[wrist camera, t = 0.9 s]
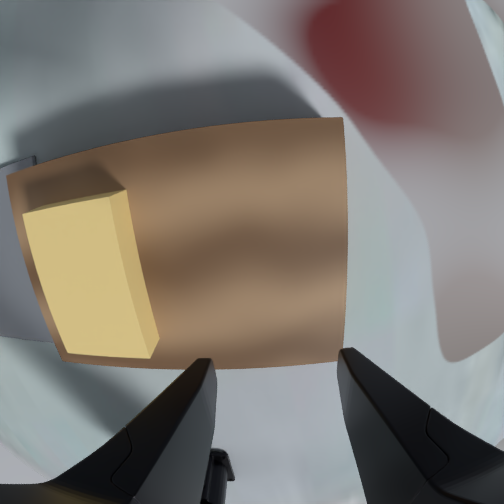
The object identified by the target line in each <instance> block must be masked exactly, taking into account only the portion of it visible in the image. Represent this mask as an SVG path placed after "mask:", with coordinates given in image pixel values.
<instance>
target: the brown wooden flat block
mask: <svg viewBox="0 0 504 504" xmlns="http://www.w3.org/2000/svg"><path fill="white" fill-rule="evenodd" d="M6 179H7V185H8V191H9V197H10V202H11V208H12V213H13V217H14V222H15V226H16V231H17V235H18V239H19V243H20V247H21V250H22V254H23V257H24V261H25V264H26V268H27V271H28V274H29V277H30V281H31V284H32V287H33V290H34V292H35V295H36V298H37V301H38V304H39V306H40V309H41V312H42V314H43V317H44V319H45V322H46V324H47V327H48V329H49V332H50V334H51V336H52V339H53V341H54V343H55V346H56V348H57V350H58V352H59V354H60V357H61V359H62V361H65V362H73V363H82V364H92V365H103V366H115V367H130V368H149V369H187V368H188V367H189V366H190V365H191V364H192V363H193V362H194V361H195V360H196V359H198V358H211V359H212V360H213V364H214V368H215V369H246V368H266V367H281V366H294V365H305V364H316V363H325V362H334V361H338V353H339V350H340V349H343V340H344V326H345V310H346V289H347V255H348V208H347V174H346V153H345V138H344V124H343V117H333V118H297V119H279V120H265V121H253V122H242V123H233V124H224V125H215V126H208V127H200V128H193V129H187V130H180V131H174V132H168V133H163V134H157V135H152V136H147V137H142V138H137V139H132V140H127V141H123V142H118V143H114V144H109V145H105V146H101V147H97V148H93V149H89V150H85V151H82V152H78V153H74V154H71V155H67V156H64V157H60V158H57V159H54V160H50V161H47V162H44V163H41V164H38V165H35V166H32V167H29V168H26V169H23V170H20V171H17V172H14V173H11V174H9V175H6ZM121 190H127V196H128V202H129V208H130V214H131V219H132V225H133V230H134V235H135V240H136V245H137V250H138V255H139V259H140V264H141V268H142V273H143V277H144V281H145V285H146V289H147V293H148V297H149V301H150V305H151V309H152V313H153V317H154V320H155V324H156V327H157V331H158V334H159V338H160V339H159V341H158V343H157V345H156V347H155V349H154V352H153V354H152V356H151V358H150V359H148V358H125V357H108V356H94V355H83V354H72V353H68V352H67V350H66V348H65V346H64V343H63V341H62V339H61V336H60V334H59V332H58V329H57V327H56V324H55V322H54V319H53V316H52V314H51V311H50V309H49V306H48V303H47V300H46V297H45V294H44V292H43V289H42V286H41V283H40V279H39V276H38V273H37V270H36V266H35V263H34V259H33V256H32V252H31V249H30V245H29V241H28V237H27V233H26V229H25V224H24V220H23V215H22V214H24V213H26V212H28V211H31V210H33V209H36V208H38V207H41V206H44V205H48V204H53V203H57V202H62V201H67V200H72V199H77V198H82V197H87V196H92V195H98V194H103V193H109V192H115V191H121Z"/></svg>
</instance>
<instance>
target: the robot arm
mask: <svg viewBox="0 0 504 504" xmlns="http://www.w3.org/2000/svg"><path fill="white" fill-rule="evenodd" d="M337 378H338V384H339V391H340V397H341V403H342V410H343V416H344V421H345V425H346V429H347V432H348V435H349V439H350V442H351V446H352V449H353V453H354V457H355V460H356V464H357V467H358V471H359V475H360V478H361V482H362V486H363V490H364V493H365V497H366V501H367V504H504V451H502V450H500V449H498V448H496V447H494V446H493V445H491V444H489V443H487V442H485V441H484V440H482V439H480V438H478V437H476V436H475V435H473V434H471V433H469V432H468V431H466V430H464V429H463V428H461V427H459V426H458V425H456V424H455V423H453V422H452V421H450V420H449V419H447V418H446V417H445V416H443V415H442V414H440V413H439V412H438V411H436V410H435V409H434V408H430V405H428V404H427V403H426V402H424V401H423V400H422V399H420V398H419V397H418V396H416V395H415V394H414V393H412V392H411V391H410V390H408V389H407V388H406V387H404V386H403V385H402V384H400V383H399V382H398V381H397V380H395V379H394V378H393V377H391V376H390V375H389V374H387V373H386V372H385V371H383V370H382V369H381V368H379V367H378V366H377V365H376V364H374V363H373V362H372V361H370V360H369V359H368V358H366V357H365V356H364V355H363V354H361V353H360V352H359V351H357V350H356V349H355V348H353V347H351V348H343V349H340V350H339V353H338V364H337ZM216 397H217V377H216V373H215V368H214V364H213V360H212V359H211V358H198V359H196V360H195V361H194V362H193V363H192V364H191V365H190V366H189V367H188V368H187V369H186V370H185V371H184V372H183V373H182V374H181V375H180V376H178V377H177V378H176V379H175V380H174V381H173V382H172V383H171V384H170V385H169V386H168V387H167V388H166V389H165V390H164V391H163V392H162V393H161V394H159V395H158V396H157V397H156V398H155V399H154V400H153V401H152V402H151V403H150V404H149V405H148V406H147V407H146V408H144V409H143V410H142V411H141V412H140V413H139V414H138V415H137V416H136V417H135V418H134V419H132V420H131V421H130V422H129V423H128V424H127V425H126V428H125V427H124V428H122V429H121V430H120V431H119V432H118V433H117V434H116V435H115V436H113V437H112V438H111V439H110V440H109V441H108V442H106V443H105V444H104V445H103V446H101V447H100V448H99V449H97V450H96V451H95V452H93V453H92V454H91V455H89V456H88V457H86V458H85V459H83V460H82V461H80V462H79V463H77V464H76V465H74V466H73V467H72V468H70V469H69V470H67V471H66V472H64V473H62V474H61V475H59V476H58V477H56V478H54V479H52V480H50V481H47V482H44V483H38V484H0V504H225V498H226V488H227V481H234V480H235V476H234V473H233V469H232V466H231V463H230V460H229V456H228V454H227V453H222V452H210V450H211V445H212V440H213V434H214V428H215V413H216Z"/></svg>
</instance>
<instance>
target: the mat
mask: <svg viewBox="0 0 504 504" xmlns="http://www.w3.org/2000/svg"><path fill="white" fill-rule="evenodd" d="M35 165H36V160H35V156H31V157H29V158H26V159H23V160H20V161H18V162H15V163H13V164H10V165H7V166H5V167H2V168H0V336H3V337H10V338H17V339H25V340H33V341H42V342H51V343H54V341H53V339H52V336H51V334H50V332H49V329H48V327H47V324H46V322H45V319H44V317H43V314H42V312H41V309H40V306H39V304H38V301H37V298H36V295H35V292H34V290H33V287H32V284H31V281H30V277H29V274H28V271H27V268H26V264H25V261H24V257H23V254H22V250H21V247H20V243H19V239H18V235H17V231H16V226H15V222H14V217H13V213H12V208H11V202H10V197H9V191H8V185H7V179H6V175H9V174H11V173H14V172H17V171H20V170H23V169H26V168H29V167H32V166H35Z"/></svg>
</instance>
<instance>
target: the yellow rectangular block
mask: <svg viewBox="0 0 504 504" xmlns="http://www.w3.org/2000/svg"><path fill="white" fill-rule="evenodd" d="M22 215H23V220H24V224H25V229H26V233H27V237H28V241H29V245H30V249H31V252H32V256H33V259H34V263H35V266H36V270H37V273H38V276H39V279H40V283H41V286H42V289H43V292H44V294H45V297H46V300H47V303H48V306H49V309H50V311H51V314H52V316H53V319H54V322H55V324H56V327H57V329H58V332H59V334H60V336H61V339H62V341H63V343H64V346H65V348H66V350H67V352H68V353H72V354H83V355H94V356H108V357H125V358H148V359H150V358H151V356H152V354H153V352H154V349H155V347H156V345H157V343H158V341H159V339H160V338H159V334H158V331H157V327H156V324H155V320H154V317H153V313H152V309H151V305H150V301H149V297H148V293H147V289H146V285H145V281H144V277H143V273H142V268H141V264H140V259H139V255H138V250H137V245H136V240H135V235H134V230H133V225H132V219H131V214H130V208H129V202H128V196H127V190H121V191H115V192H109V193H103V194H98V195H92V196H87V197H82V198H77V199H72V200H67V201H62V202H57V203H53V204H48V205H44V206H41V207H38V208H36V209H33V210H31V211H28V212H26V213H24V214H22Z"/></svg>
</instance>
